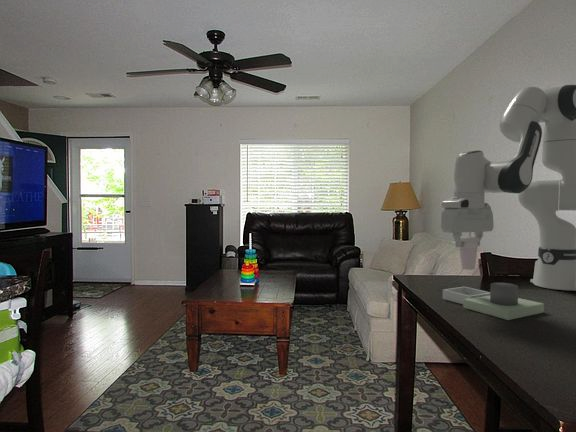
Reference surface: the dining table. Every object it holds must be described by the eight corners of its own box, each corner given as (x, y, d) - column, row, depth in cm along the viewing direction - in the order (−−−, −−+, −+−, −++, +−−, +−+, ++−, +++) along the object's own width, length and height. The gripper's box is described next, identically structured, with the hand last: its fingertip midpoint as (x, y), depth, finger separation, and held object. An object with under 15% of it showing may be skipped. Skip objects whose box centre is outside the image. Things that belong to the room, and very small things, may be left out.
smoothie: (482, 270, 123) (482, 224, 122) (460, 270, 124) (460, 225, 123) (475, 267, 129) (475, 223, 129) (454, 266, 130) (454, 223, 130)
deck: (470, 294, 135) (470, 272, 135) (543, 312, 114) (544, 286, 114) (436, 299, 128) (436, 276, 128) (508, 320, 107) (508, 292, 106)
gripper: (481, 202, 134) (480, 244, 134) (437, 202, 124) (437, 246, 125) (499, 202, 128) (498, 246, 128) (454, 202, 119) (453, 249, 119)
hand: (467, 246), depth 126 cm, fingers closed on smoothie, 6 cm apart
